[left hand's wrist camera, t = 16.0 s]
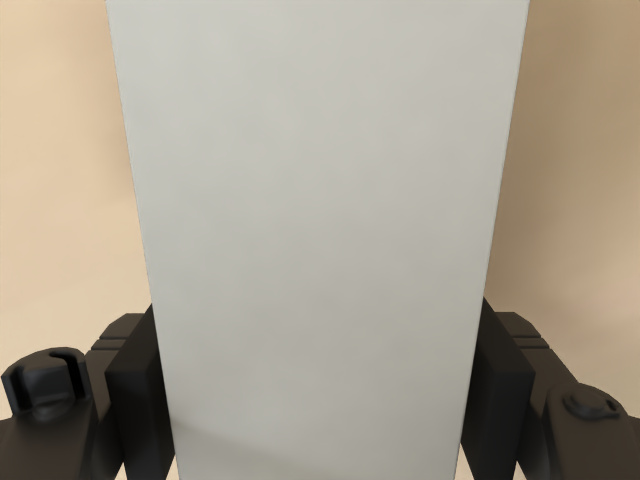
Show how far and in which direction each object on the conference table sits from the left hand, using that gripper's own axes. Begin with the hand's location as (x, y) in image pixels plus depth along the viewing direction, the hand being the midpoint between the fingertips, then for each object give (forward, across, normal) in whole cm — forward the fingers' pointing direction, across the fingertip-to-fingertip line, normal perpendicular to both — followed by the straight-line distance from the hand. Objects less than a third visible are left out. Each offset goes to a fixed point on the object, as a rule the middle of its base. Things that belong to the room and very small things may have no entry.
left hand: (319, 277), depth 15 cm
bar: (+2, 0, -8) cm, 9 cm away
